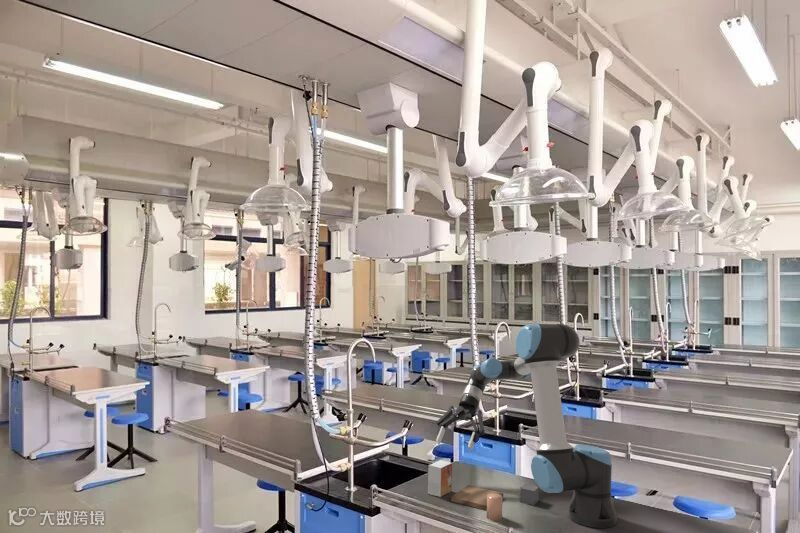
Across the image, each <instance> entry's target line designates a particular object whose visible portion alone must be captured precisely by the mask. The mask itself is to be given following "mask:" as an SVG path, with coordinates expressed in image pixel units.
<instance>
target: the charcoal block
mask: <svg viewBox="0 0 800 533" xmlns="http://www.w3.org/2000/svg"><path fill="white" fill-rule="evenodd" d="M539 490H540V487H539V486H538V485H532V484H527V483H525V484H523V485H522V486H521V487H520V495H519V496H520V497H519V498H520V499H519V500H520V501H519V502H520V503H523V504H526V503H527V504H526V505H530V504H531V506H536V504H537V503H539V501H540V500H539V498H540V495H539V494H540V491H539Z"/></svg>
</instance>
